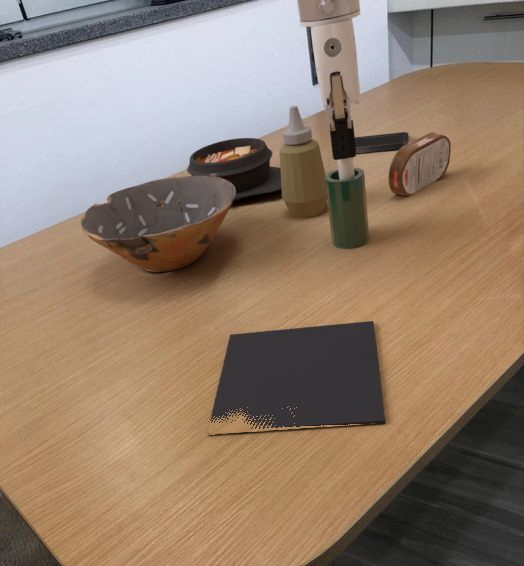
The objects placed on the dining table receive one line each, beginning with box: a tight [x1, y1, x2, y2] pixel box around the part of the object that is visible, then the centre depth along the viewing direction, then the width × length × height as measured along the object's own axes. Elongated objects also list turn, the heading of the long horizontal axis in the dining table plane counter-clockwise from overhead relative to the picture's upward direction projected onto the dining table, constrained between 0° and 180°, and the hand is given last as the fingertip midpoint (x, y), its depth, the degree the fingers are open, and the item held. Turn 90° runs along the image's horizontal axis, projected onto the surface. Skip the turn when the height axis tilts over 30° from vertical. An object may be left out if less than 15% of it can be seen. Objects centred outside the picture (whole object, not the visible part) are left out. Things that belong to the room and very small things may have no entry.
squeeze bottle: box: [279, 105, 328, 219], centre depth 100 cm, size 8×8×18 cm
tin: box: [388, 132, 452, 197], centre depth 103 cm, size 15×3×8 cm, turn 133°
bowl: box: [79, 175, 236, 273], centre depth 96 cm, size 25×25×10 cm
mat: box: [209, 320, 386, 429], centre depth 68 cm, size 18×18×1 cm
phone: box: [355, 131, 410, 154], centre depth 128 cm, size 8×1×15 cm
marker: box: [336, 122, 355, 180], centre depth 86 cm, size 2×2×16 cm
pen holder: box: [325, 167, 370, 250], centre depth 89 cm, size 6×6×11 cm
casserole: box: [186, 137, 282, 202], centre depth 118 cm, size 25×19×8 cm
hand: (344, 153), depth 84 cm, fingers closed on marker, 2 cm apart
